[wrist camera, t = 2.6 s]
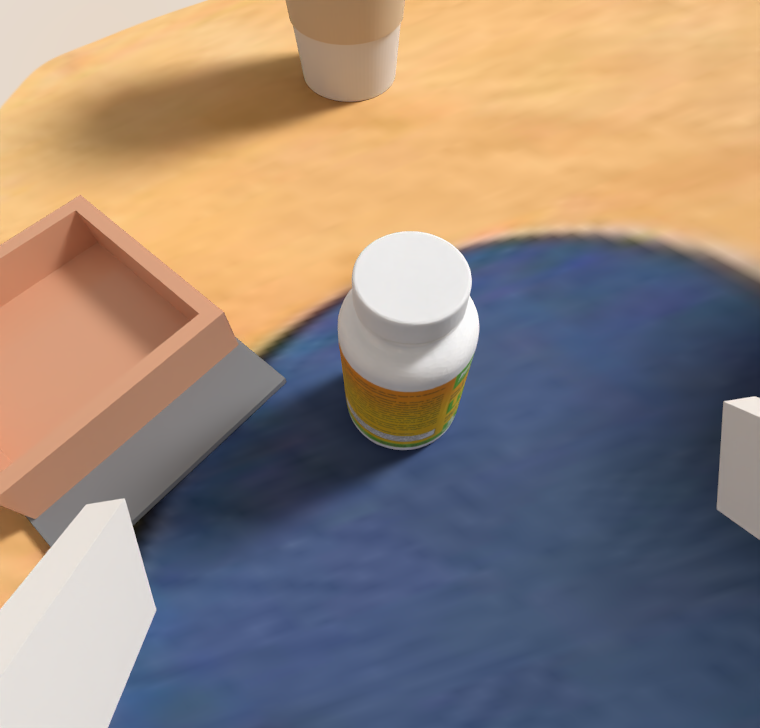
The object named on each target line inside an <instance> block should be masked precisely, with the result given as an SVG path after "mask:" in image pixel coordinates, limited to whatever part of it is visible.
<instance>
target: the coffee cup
mask: <svg viewBox="0 0 760 728" xmlns="http://www.w3.org/2000/svg"><path fill="white" fill-rule="evenodd" d="M286 4H287V9H288V13H289V18H290V21H291V23H292V25H293V28H294V32H295V37H296V42H297V46H298V51H299V56H300V61H301V65H302V70H303V75H304V79H305V82H306V83H307V85H308V86H309V87H310V88H311V89H312V90H313V91H314V92H315V93H317V94H319V95H321V96H323V97H325V98H328V99H332V100H336V101H344V102H355V101H362V100H367V99H371V98H373V97H376V96H378V95H380V94H382V93H383V92H385V91H386V90H387V89H388V88H389V87H390V86H391V85H392V83H393V81H394V79H395V73H396V63H397V53H398V43H399V33H400V24H401V21H402V19H403V13H404V4H405V0H286Z"/></svg>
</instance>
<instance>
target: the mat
mask: <svg viewBox="0 0 760 728" xmlns="http://www.w3.org/2000/svg"><path fill="white" fill-rule="evenodd" d="M235 338H236V337H235ZM236 340H237V342H238V344H239V345H238V346H237V347H236V348H234V349H233V350H232V351H231V352H230V353H229V354H227V355H226V356H225V357H224V358H223V359H222V360H220V361H219V362H218V363H217V364H216V365H215V366H213V367H212V368H211V369H210V370H209V371H208V372H206V373H205V374H204V375H203V376H202V377H201V378H199V379H198V380H197V381H196V382H195V383H194V384H192V385H191V386H190V387H189V388H188V389H187V390H185V391H184V392H183V393H182V394H181V395H180V396H179V397H177V398H176V399H175V400H174V401H173V402H172V403H170V404H169V405H168V406H167V407H166V408H165V409H163V410H162V411H161V412H160V413H159V414H158V415H156V416H155V417H154V418H153V419H152V420H151V421H149V422H148V423H147V424H146V425H145V426H144V427H142V428H141V429H140V430H139V431H138V432H137V433H135V434H134V435H133V436H132V437H131V438H130V439H128V440H127V441H126V442H125V443H124V444H123V445H121V446H120V447H119V448H118V449H117V450H116V451H114V452H113V453H112V454H111V455H110V456H109V457H107V458H106V459H105V460H104V461H103V462H102V463H100V464H99V465H98V466H97V467H96V468H95V469H93V470H92V471H91V472H90V473H89V474H88V475H86V476H85V477H84V478H83V479H82V480H81V481H80V482H78V483H77V484H76V485H75V486H74V487H73V488H71V489H70V490H69V491H68V492H67V493H66V494H64V495H63V496H62V497H61V498H60V499H59V500H57V501H56V502H55V503H54V504H53V505H52V506H50V507H49V508H48V509H47V510H46V511H45V512H43V513H42V514H41V515H40V516H39V517H38V518H36V519H33V518H31V517H28V516H26V517H27V519H28V520H29V521H30V522H31V523H32V525H33V526H34V527H35V528H36V530H37V531H38V532H39V533H40V534H41V536H42V537H43V538H44V539H45V541H46V542H47V543H48V544H49V546H50V547H52V546H53V544H54V543H55V542H56V541H57V539H58V538H59V537H60V536H61V535H62V533H63V532H64V531H65V530H66V528H67V527H68V526H69V525H70V524H71V522H72V521H73V520H74V519H75V517H76V516H77V515H78V514H79V513H80V511H81V510H82V509H83V508H84V506H85V505H86V504H92V503H98V502H104V501H110V500H117V499H123V498H125V501H126V504H127V508H128V511H129V515H130V518H131V522H132V526H133V525H134V524H135V523H136V522H138V521H139V520H140V519H141V518H142V517H143V516H144V515H145V514H146V513H147V512H148V511H149V510H150V509H151V508H153V507H154V506H155V505H156V504H157V503H158V502H159V501H160V500H161V499H162V498H163V497H164V496H165V495H166V494H167V493H169V492H170V491H171V490H172V489H173V488H174V487H175V486H176V485H177V484H178V483H179V482H180V481H181V480H182V479H184V478H185V477H186V476H187V475H188V474H189V473H190V472H191V471H192V470H193V469H194V468H195V467H196V466H197V465H199V464H200V463H201V462H202V461H203V460H204V459H205V458H206V457H207V456H208V455H209V454H210V453H211V452H212V451H213V450H215V449H216V448H217V447H218V446H219V445H220V444H221V443H222V442H223V441H224V440H225V439H226V438H227V437H228V436H230V435H231V434H232V433H233V432H234V431H235V430H236V429H237V428H238V427H239V426H240V425H241V424H242V423H243V422H244V421H246V420H247V419H248V418H249V417H250V416H251V415H252V414H253V413H254V412H255V411H256V410H257V409H258V408H259V407H261V406H262V405H263V404H264V403H265V402H266V401H267V400H268V399H269V398H270V397H271V396H272V395H273V394H274V393H276V392H277V391H278V390H279V389H280V388H281V387H282V386H283V385H284V384H285V383H286V379H285V378H284V377H283V376H282V375H280V374H279V373H278V372H277V371H276V370H274V369H273V368H272V367H271V366H270V365H268V364H267V363H266V362H265V361H264V360H262V359H261V358H260V357H259V356H258V355H256V354H255V353H254V352H253V351H252V350H250V349H249V348H248V347H247V346H246V345H244V344H243V343H242V342H241V341H240V340H238V339H237V338H236Z"/></svg>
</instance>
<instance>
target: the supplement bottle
mask: <svg viewBox="0 0 760 728" xmlns="http://www.w3.org/2000/svg"><path fill="white" fill-rule="evenodd" d="M471 281H472V279H471V272H470V268H469V265H468V263H467V261H466V260H465V258H464V256H463V255H462V254H461V253H460V252H459V251H458V250H457V249H456V248H455V247H454V246H453V245H452V244H450V243H449V242H447V241H446V240H444V239H442V238H439V237H437V236H434V235H431V234H428V233H423V232H413V231H406V232H397V233H393V234H389V235H386V236H384V237H381V238H379V239H377V240H375V241H374V242H372V243H371V244H370V245H368V246H367V247H366V248H365V249H364V250H363V251H362V252H361V254H360V255H359V257H358V258H357V260H356V262H355V265H354V268H353V273H352V289H351V290H350V291H349V293H348V294H347V296H346V297H345V299H344V301H343V304H342V306H341V309H340V312H339V317H338V339H339V347H340V354H341V362H342V370H343V378H344V386H345V394H346V401H347V406H348V410H349V414H350V416H351V418H352V420H353V422H354V424H355V425H356V427H357V428H358V429H359V431H360V432H361V433H362V434H363V435H364V436H365V437H367V438H368V439H369V440H370V441H372V442H374V443H376V444H378V445H380V446H383V447H386V448H390V449H395V450H412V449H417V448H420V447H423V446H426V445H428V444H430V443H432V442H434V441H435V440H437V439H438V438H439V437H440V436H442V435H443V434H444V433H445V432H446V430H447V429H448V428H449V426H450V425H451V423H452V421H453V419H454V417H455V414H456V412H457V408H458V405H459V401H460V398H461V395H462V391H463V388H464V385H465V381H466V378H467V375H468V372H469V368H470V365H471V362H472V358H473V355H474V352H475V349H476V345H477V341H478V335H479V319H478V314H477V310H476V307H475V305H474V303H473V301H472V299H471V297H470V291H471Z"/></svg>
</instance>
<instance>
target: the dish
mask: <svg viewBox="0 0 760 728" xmlns="http://www.w3.org/2000/svg"><path fill="white" fill-rule="evenodd" d="M238 345H239V344H238V342H237V340H236V338H235V335H234V333H233V331H232V329H231V327H230V325H229V322H228V320H227V318H226V316H225V314H224V312H223V311H222V310H221V309H219V308H218V307H217V306H216V305H214V304H213V303H212V302H211V301H210V300H208V299H207V298H206V297H205V296H203V295H202V294H201V293H200V292H199V291H197V290H196V289H195V288H194V287H192V286H191V285H190V284H189V283H187V282H186V281H185V280H184V279H183V278H181V277H180V276H179V275H178V274H176V273H175V272H174V271H173V270H172V269H170V268H169V267H168V266H167V265H165V264H164V263H163V262H162V261H161V260H159V259H158V258H157V257H156V256H154V255H153V254H152V253H151V252H150V251H148V250H147V249H146V248H145V247H143V246H142V245H141V244H140V243H139V242H137V241H136V240H135V239H134V238H132V237H131V236H130V235H129V234H127V233H126V232H125V231H124V230H123V229H121V228H120V227H119V226H118V225H116V224H115V223H114V222H113V221H112V220H110V219H109V218H108V217H107V216H105V215H104V214H103V213H102V212H101V211H99V210H98V209H97V208H96V207H94V206H93V205H92V204H91V203H90V202H88V201H87V200H86V199H85V198H83V197H82V196H81V195H79V196H78V197H76V198H74V199H73V200H71V201H70V202H68V203H67V204H65V205H63V206H62V207H60V208H59V209H57V210H55V211H54V212H52V213H51V214H49V215H47V216H46V217H44V218H43V219H41V220H39V221H38V222H36V223H35V224H33V225H31V226H30V227H28V228H27V229H25V230H23V231H22V232H20V233H19V234H17V235H15V236H14V237H12V238H11V239H9V240H7V241H6V242H4V243H3V244H1V245H0V506H3V507H5V508H8V509H10V510H13V511H15V512H18V513H20V514H23V515H25V516H28V517H31V518H33V519H36V518H38V517H39V516H40V515H41V514H42V513H43V512H45V511H46V510H47V509H48V508H49V507H50V506H52V505H53V504H54V503H55V502H56V501H57V500H59V499H60V498H61V497H62V496H63V495H64V494H66V493H67V492H68V491H69V490H70V489H71V488H73V487H74V486H75V485H76V484H77V483H78V482H80V481H81V480H82V479H83V478H84V477H85V476H86V475H88V474H89V473H90V472H91V471H92V470H93V469H95V468H96V467H97V466H98V465H99V464H100V463H102V462H103V461H104V460H105V459H106V458H107V457H109V456H110V455H111V454H112V453H113V452H114V451H116V450H117V449H118V448H119V447H120V446H121V445H123V444H124V443H125V442H126V441H127V440H128V439H130V438H131V437H132V436H133V435H134V434H135V433H137V432H138V431H139V430H140V429H141V428H142V427H144V426H145V425H146V424H147V423H148V422H149V421H151V420H152V419H153V418H154V417H155V416H156V415H158V414H159V413H160V412H161V411H162V410H163V409H165V408H166V407H167V406H168V405H169V404H170V403H172V402H173V401H174V400H175V399H176V398H177V397H179V396H180V395H181V394H182V393H183V392H184V391H185V390H187V389H188V388H189V387H190V386H191V385H192V384H194V383H195V382H196V381H197V380H198V379H199V378H201V377H202V376H203V375H204V374H205V373H206V372H208V371H209V370H210V369H211V368H212V367H213V366H215V365H216V364H217V363H218V362H219V361H220V360H222V359H223V358H224V357H225V356H226V355H227V354H229V353H230V352H231V351H232V350H233V349H234V348H236V347H237V346H238Z"/></svg>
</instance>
